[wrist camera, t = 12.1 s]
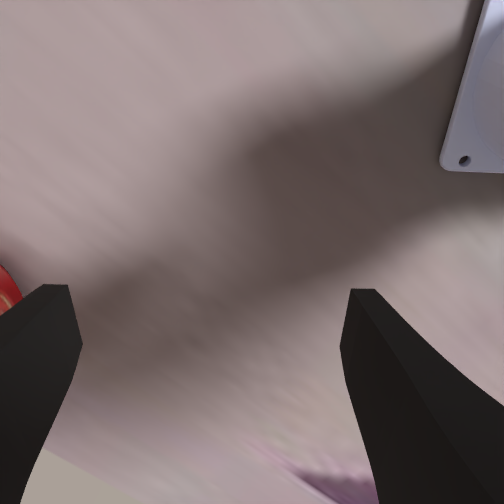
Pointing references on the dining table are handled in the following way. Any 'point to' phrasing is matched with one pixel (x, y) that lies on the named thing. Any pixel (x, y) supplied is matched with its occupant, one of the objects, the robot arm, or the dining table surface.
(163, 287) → the dining table surface
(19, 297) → the liquor
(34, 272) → the dining table surface
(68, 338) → the robot arm
